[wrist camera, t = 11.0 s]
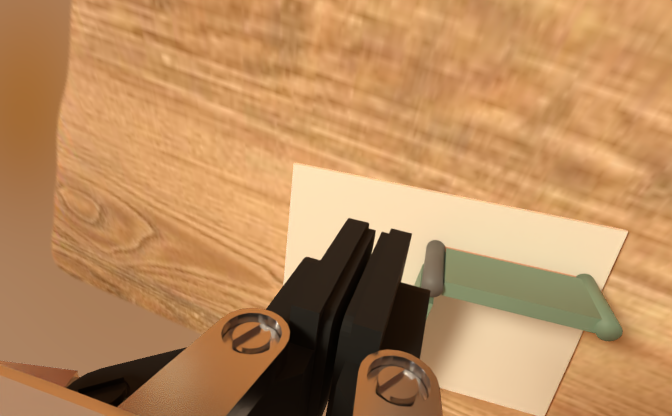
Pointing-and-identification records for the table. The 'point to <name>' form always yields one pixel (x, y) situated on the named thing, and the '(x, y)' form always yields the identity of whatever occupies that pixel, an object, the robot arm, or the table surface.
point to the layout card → (475, 238)
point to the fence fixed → (519, 290)
